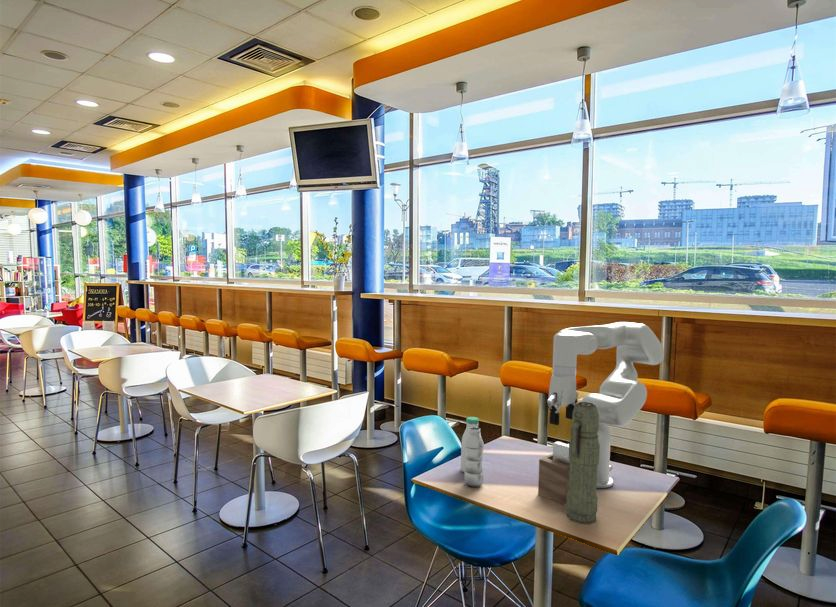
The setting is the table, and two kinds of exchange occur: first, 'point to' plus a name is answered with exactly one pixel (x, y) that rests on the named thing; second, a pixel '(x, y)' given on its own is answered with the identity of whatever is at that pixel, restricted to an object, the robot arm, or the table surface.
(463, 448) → the milk bottle
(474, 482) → the plastic bottle
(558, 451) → the white block
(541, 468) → the slotted wooden block
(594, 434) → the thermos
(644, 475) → the table surface
